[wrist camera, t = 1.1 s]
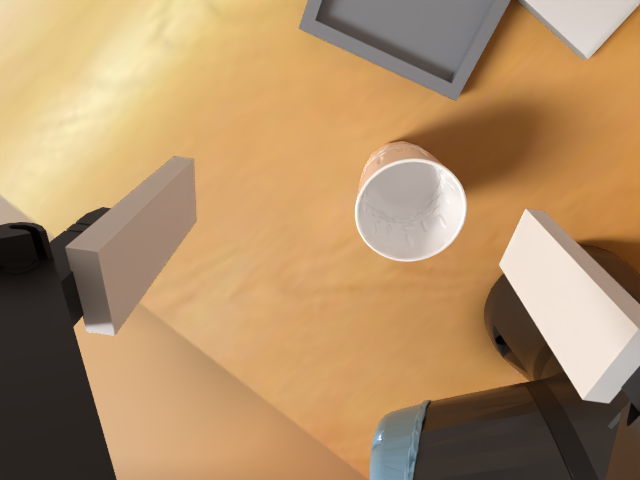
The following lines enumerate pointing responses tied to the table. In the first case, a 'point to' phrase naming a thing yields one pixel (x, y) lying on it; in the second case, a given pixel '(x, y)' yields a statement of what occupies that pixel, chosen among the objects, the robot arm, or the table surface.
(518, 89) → the table surface
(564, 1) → the external hard drive
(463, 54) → the tray
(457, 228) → the white cup
